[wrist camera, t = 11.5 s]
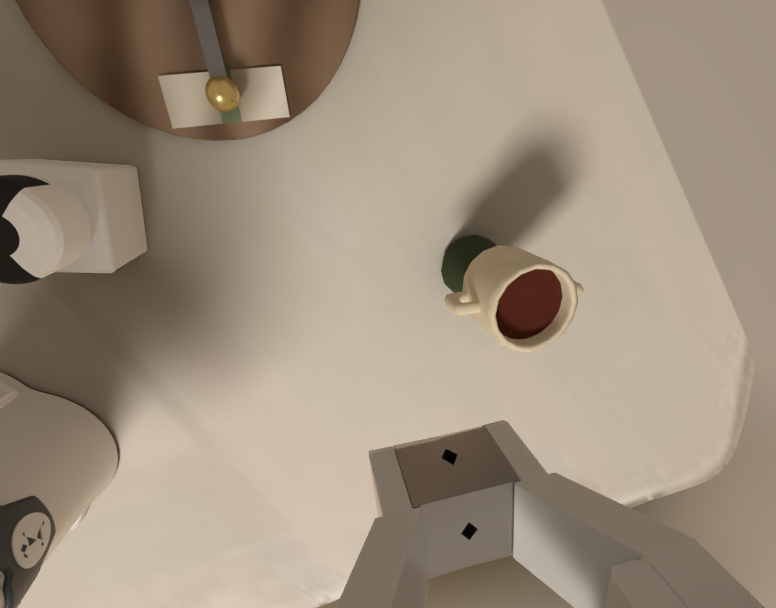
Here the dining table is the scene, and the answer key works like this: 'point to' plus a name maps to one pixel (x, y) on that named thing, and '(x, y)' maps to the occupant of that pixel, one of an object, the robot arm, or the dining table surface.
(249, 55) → the stand
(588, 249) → the dining table surface
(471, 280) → the character mug
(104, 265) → the medicine bottle
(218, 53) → the crank lever
